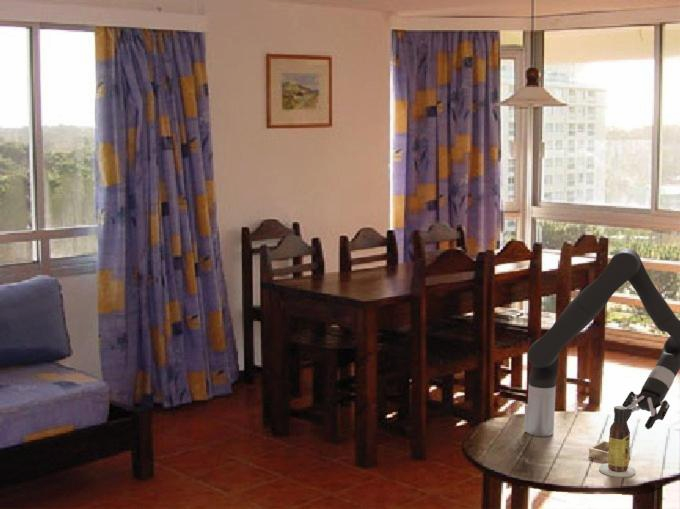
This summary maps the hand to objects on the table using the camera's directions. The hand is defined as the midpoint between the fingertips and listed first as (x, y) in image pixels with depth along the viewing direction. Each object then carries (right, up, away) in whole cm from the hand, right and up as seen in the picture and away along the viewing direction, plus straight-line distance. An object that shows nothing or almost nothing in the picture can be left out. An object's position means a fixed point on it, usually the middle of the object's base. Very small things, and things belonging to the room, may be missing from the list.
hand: (635, 424), depth 334 cm
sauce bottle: (-6, -14, -3) cm, 15 cm away
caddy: (-6, -12, +10) cm, 17 cm away
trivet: (-7, -14, -3) cm, 16 cm away
